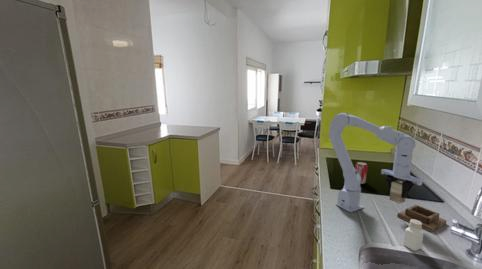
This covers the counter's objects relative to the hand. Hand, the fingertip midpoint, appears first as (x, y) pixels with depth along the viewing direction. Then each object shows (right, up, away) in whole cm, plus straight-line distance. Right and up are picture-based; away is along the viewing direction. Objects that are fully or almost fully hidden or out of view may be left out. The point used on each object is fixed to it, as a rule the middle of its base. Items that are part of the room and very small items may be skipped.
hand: (397, 195), depth 91 cm
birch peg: (0, -2, 0) cm, 2 cm away
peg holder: (+9, -10, 0) cm, 14 cm away
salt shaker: (-7, -13, -16) cm, 22 cm away
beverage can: (+5, -3, +38) cm, 39 cm away
